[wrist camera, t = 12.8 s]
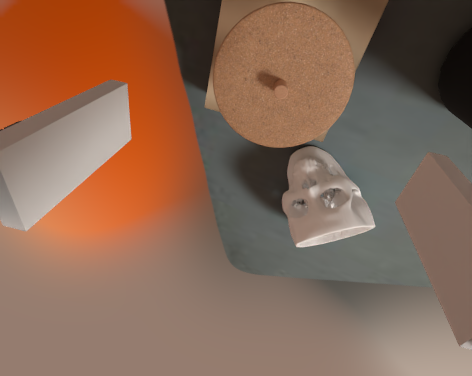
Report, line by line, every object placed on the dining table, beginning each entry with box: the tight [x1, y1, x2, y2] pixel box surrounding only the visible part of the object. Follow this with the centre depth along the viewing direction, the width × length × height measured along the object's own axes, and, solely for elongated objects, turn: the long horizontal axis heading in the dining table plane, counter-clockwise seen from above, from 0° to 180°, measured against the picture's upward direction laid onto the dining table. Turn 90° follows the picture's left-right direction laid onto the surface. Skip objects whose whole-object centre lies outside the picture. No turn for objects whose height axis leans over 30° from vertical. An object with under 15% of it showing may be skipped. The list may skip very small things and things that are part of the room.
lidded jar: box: [213, 2, 355, 148], centre depth 24 cm, size 11×11×9 cm
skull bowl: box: [282, 146, 375, 247], centre depth 38 cm, size 10×14×12 cm
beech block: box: [205, 0, 389, 142], centre depth 30 cm, size 14×14×5 cm
